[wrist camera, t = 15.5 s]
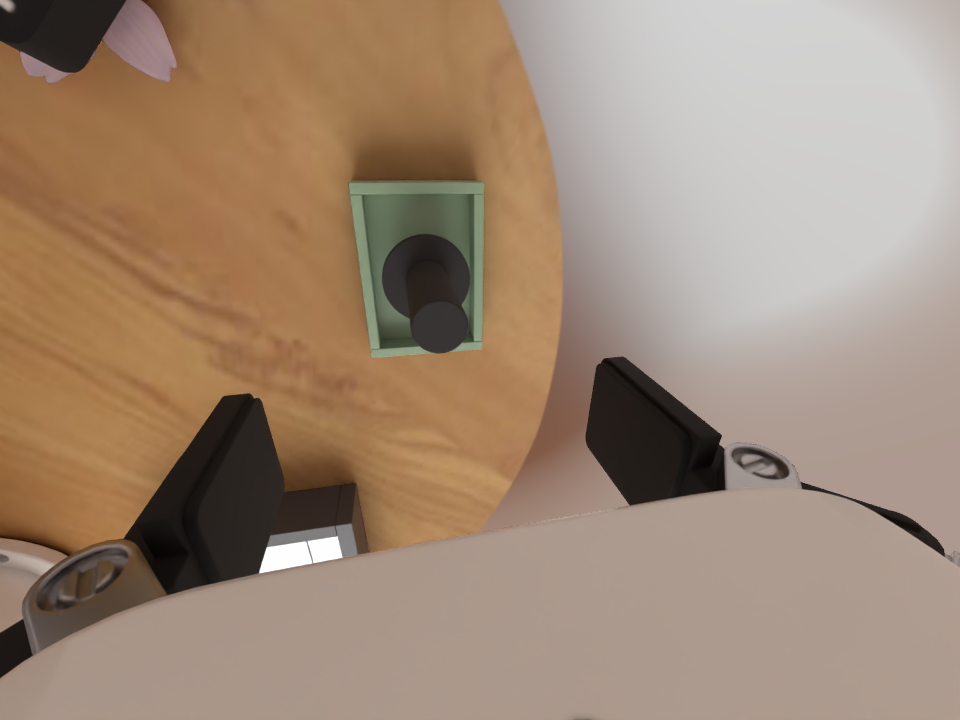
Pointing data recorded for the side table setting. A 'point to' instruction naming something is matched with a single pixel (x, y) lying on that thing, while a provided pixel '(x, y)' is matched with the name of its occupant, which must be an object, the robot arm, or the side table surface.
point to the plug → (429, 290)
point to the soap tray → (404, 213)
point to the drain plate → (300, 554)
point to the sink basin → (321, 518)
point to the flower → (126, 44)
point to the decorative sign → (57, 29)
